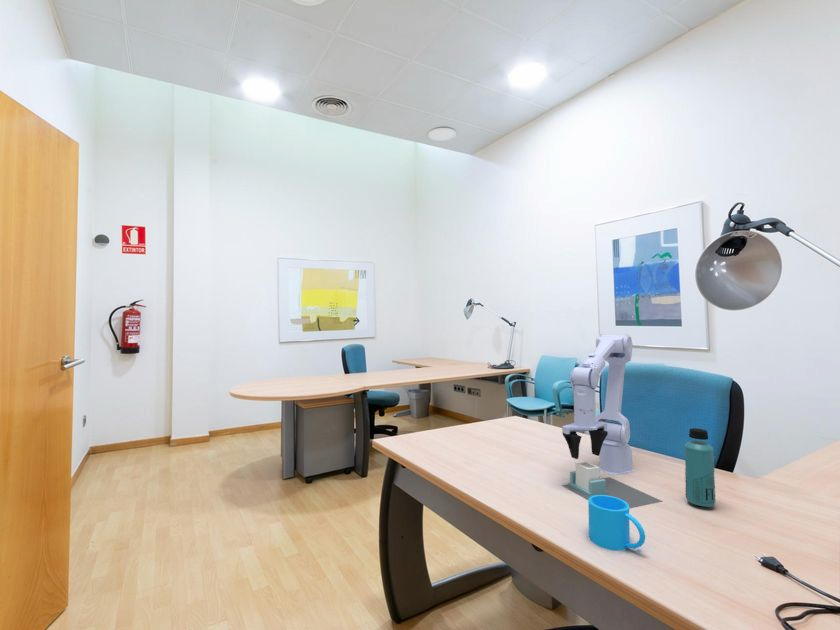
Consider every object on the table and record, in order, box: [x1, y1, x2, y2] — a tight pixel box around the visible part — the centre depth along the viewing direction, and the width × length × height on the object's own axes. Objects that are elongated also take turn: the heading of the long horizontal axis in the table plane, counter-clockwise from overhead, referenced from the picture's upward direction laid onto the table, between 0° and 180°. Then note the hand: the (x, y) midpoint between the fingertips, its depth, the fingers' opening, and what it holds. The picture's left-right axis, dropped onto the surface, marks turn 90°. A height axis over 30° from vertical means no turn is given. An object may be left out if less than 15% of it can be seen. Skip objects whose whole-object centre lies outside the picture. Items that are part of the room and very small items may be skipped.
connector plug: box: [575, 461, 601, 491], centre depth 115 cm, size 4×5×6 cm
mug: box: [587, 495, 646, 551], centre depth 87 cm, size 12×8×8 cm
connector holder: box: [568, 470, 608, 497], centre depth 115 cm, size 6×8×4 cm
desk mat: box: [561, 476, 663, 509], centre depth 112 cm, size 18×18×1 cm
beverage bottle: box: [684, 427, 717, 508], centre depth 105 cm, size 6×7×20 cm
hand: (585, 456), depth 116 cm, fingers open, 7 cm apart
